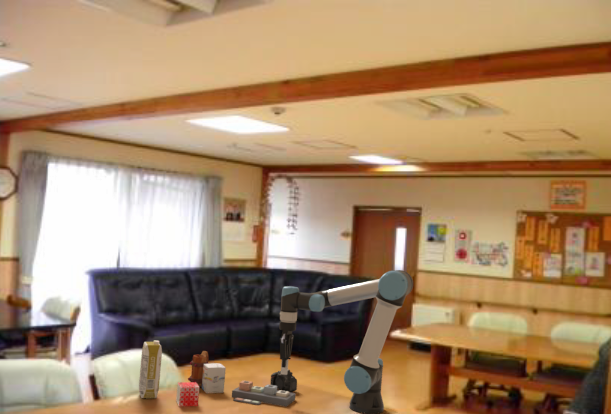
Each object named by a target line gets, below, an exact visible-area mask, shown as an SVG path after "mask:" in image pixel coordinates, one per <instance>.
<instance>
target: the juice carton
mask: <svg viewBox="0 0 611 414" xmlns="http://www.w3.org/2000/svg"><path fill="white" fill-rule="evenodd" d="M162 356H163V349H162V345H161V344H160V340H153V341H144V342H143V345H142V349H141V358H140V359H141V360H140V369H139V379H138V380H139V381H138V390H139V396H140V398H141V399H142V398H146V399H157V397H158V394H159V389H160V379H161V378H160V377H161V367H162V358H163V357H162Z"/></svg>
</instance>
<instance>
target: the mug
mask: <svg viewBox="0 0 611 414" xmlns="http://www.w3.org/2000/svg"><path fill="white" fill-rule="evenodd" d="M204 364H209V351H206V350H202V352H201V354H193V356H192V359H191V361H190V362H189V365H191V373H190V374H191V375H190V376H189V377H188V378H187V380H188V381H189V382H196V383H197V384H198V386H199V388H200V387H201V388H202V379H203V367H204Z"/></svg>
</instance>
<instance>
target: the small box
mask: <svg viewBox="0 0 611 414" xmlns="http://www.w3.org/2000/svg"><path fill="white" fill-rule="evenodd" d="M199 396H200V387H199V386H198V384H197V383H196V382H190V381H189V382H188V381H187V382H179V381H178V382H177V389H176V398H175V401H176V403H177V405H178V407H198V406H199Z"/></svg>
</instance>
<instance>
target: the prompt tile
mask: <svg viewBox="0 0 611 414" xmlns="http://www.w3.org/2000/svg"><path fill="white" fill-rule="evenodd" d="M233 401H234V402H238V403H243V404H249V405H256V406H260V405H261V404H262V402H259V401H253V400H248V399H242V398H233Z"/></svg>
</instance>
